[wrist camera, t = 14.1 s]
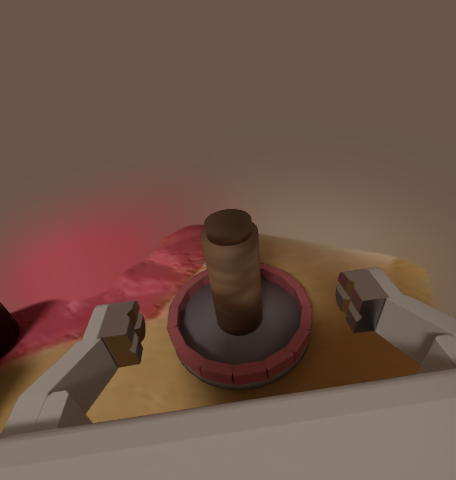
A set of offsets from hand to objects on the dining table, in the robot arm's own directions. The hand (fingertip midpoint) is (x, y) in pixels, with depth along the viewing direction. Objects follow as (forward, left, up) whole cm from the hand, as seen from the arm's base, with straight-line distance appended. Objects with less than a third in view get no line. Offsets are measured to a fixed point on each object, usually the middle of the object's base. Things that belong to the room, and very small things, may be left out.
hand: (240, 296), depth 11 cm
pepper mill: (0, +13, -16) cm, 20 cm away
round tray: (0, +13, -17) cm, 21 cm away
